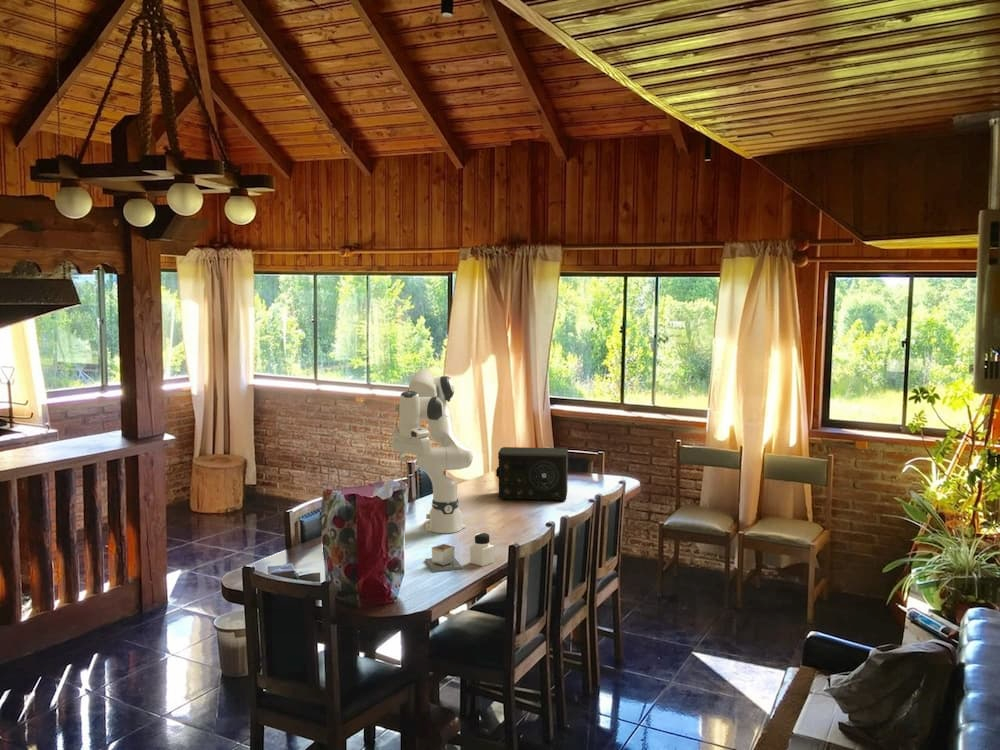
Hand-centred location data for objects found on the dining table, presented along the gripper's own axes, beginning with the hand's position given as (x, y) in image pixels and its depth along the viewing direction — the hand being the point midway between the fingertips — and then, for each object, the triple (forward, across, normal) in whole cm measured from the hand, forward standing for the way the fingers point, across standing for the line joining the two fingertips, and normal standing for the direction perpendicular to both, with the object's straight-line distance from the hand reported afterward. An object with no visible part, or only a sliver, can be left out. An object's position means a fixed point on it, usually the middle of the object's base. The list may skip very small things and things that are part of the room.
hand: (410, 463), depth 364 cm
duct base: (+39, +20, -1) cm, 44 cm away
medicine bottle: (+39, +30, +12) cm, 51 cm away
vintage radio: (+39, -23, +104) cm, 114 cm away
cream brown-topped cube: (+38, +20, -1) cm, 43 cm away
